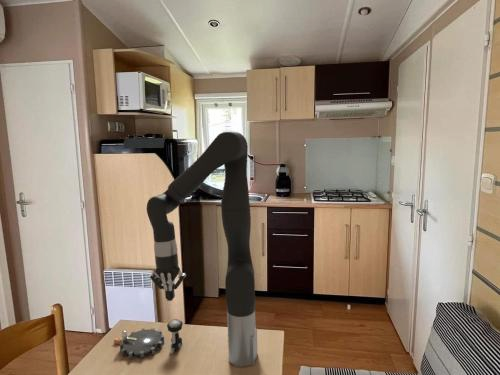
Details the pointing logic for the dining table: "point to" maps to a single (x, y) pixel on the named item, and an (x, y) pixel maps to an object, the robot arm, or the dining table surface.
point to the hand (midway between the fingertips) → (170, 299)
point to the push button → (175, 334)
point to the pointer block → (117, 340)
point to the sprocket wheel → (141, 343)
